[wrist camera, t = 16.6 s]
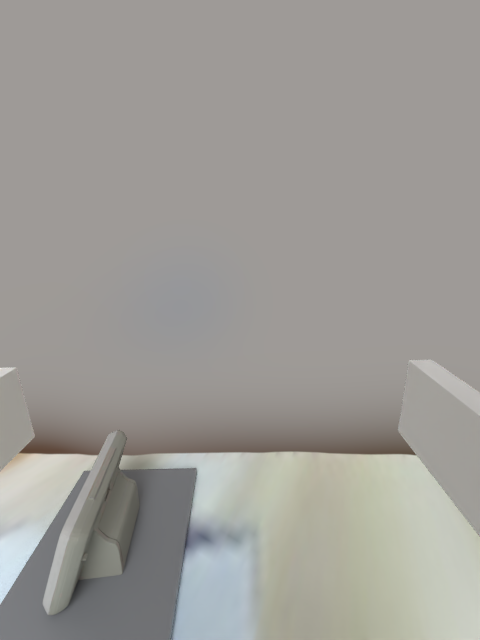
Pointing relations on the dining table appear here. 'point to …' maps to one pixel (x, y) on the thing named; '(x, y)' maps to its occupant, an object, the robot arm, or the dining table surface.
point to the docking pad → (113, 591)
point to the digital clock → (95, 527)
